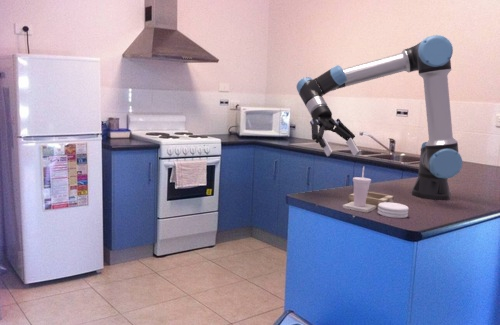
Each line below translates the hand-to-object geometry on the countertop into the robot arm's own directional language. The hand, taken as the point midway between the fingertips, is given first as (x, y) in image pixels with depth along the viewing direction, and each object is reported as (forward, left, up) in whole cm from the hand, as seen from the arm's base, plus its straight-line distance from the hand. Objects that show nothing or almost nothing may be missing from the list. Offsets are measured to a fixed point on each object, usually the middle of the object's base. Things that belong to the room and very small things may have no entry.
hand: (343, 153), depth 169 cm
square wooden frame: (-9, +9, -18) cm, 22 cm away
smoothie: (+4, +9, -17) cm, 20 cm away
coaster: (+4, +21, -19) cm, 29 cm away
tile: (+4, +9, -18) cm, 21 cm away
